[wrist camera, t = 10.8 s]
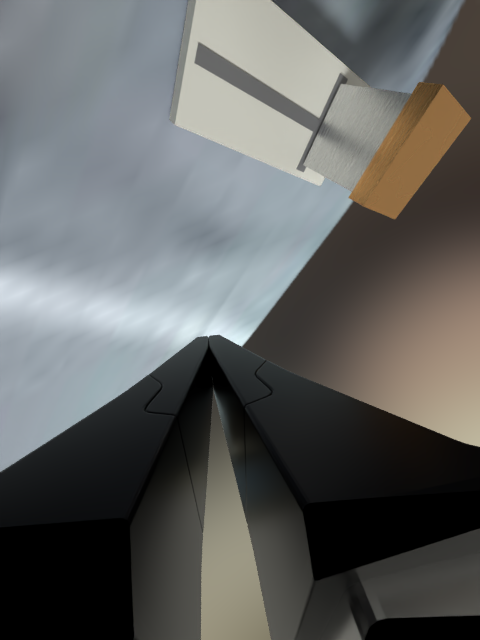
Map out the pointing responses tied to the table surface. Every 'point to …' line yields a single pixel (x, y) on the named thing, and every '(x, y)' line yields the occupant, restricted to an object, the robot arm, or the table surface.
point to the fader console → (255, 82)
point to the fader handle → (385, 142)
